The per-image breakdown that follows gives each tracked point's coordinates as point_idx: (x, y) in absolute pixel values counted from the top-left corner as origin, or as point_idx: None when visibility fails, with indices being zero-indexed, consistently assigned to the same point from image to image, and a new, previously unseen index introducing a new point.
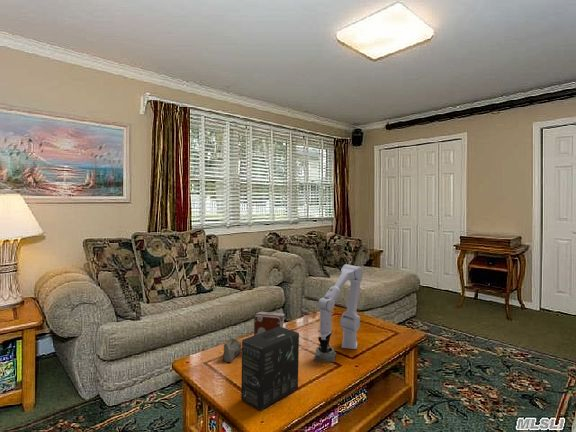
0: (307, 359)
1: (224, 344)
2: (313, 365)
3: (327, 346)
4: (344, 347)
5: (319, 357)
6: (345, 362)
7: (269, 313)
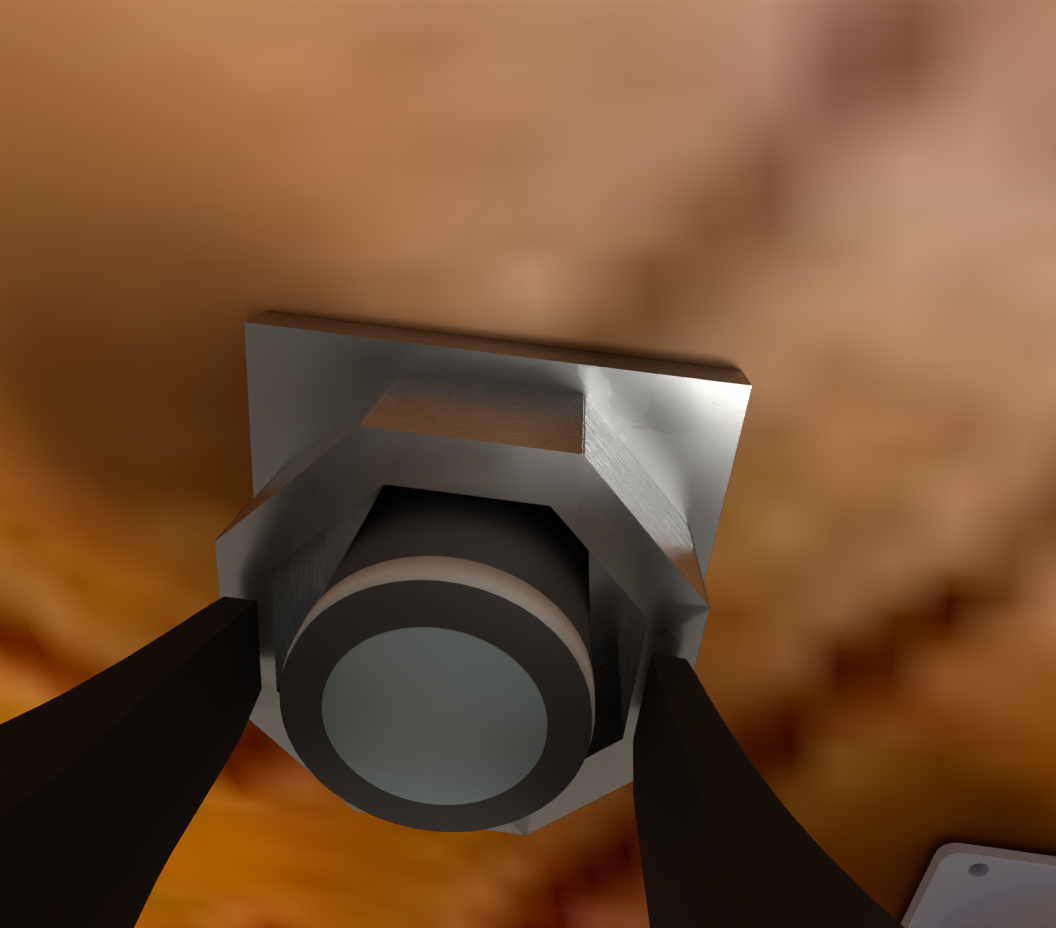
0: (260, 155)
1: None
2: (24, 322)
3: (362, 787)
4: (925, 889)
5: (292, 463)
6: (349, 837)
7: None
